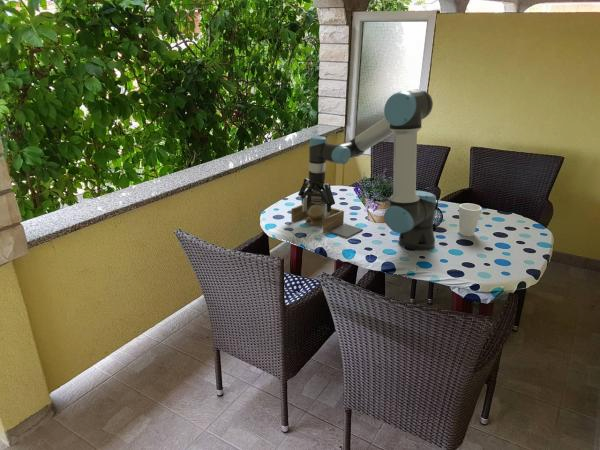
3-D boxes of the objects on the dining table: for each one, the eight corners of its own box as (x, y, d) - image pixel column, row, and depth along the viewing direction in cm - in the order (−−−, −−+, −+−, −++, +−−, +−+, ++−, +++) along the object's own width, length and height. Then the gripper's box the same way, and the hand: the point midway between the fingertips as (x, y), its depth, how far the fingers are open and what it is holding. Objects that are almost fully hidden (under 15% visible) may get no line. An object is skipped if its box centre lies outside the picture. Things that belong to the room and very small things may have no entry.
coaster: (362, 230, 210) (362, 229, 209) (347, 238, 201) (347, 236, 201) (345, 225, 216) (345, 223, 215) (329, 232, 207) (329, 230, 207)
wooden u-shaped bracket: (343, 224, 216) (343, 211, 213) (324, 233, 206) (325, 219, 203) (310, 214, 228) (310, 201, 226) (291, 222, 218) (291, 208, 216)
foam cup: (478, 238, 203) (483, 211, 198) (456, 236, 205) (461, 209, 200) (475, 230, 211) (479, 204, 206) (454, 228, 213) (458, 202, 208)
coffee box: (305, 226, 214) (306, 194, 208) (306, 221, 220) (307, 189, 214) (325, 227, 213) (326, 194, 207) (325, 222, 219) (326, 190, 213)
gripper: (344, 174, 202) (341, 218, 210) (301, 164, 217) (301, 206, 225) (334, 178, 196) (331, 223, 205) (291, 167, 211) (290, 209, 220)
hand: (315, 214), depth 215 cm, fingers open, 13 cm apart
